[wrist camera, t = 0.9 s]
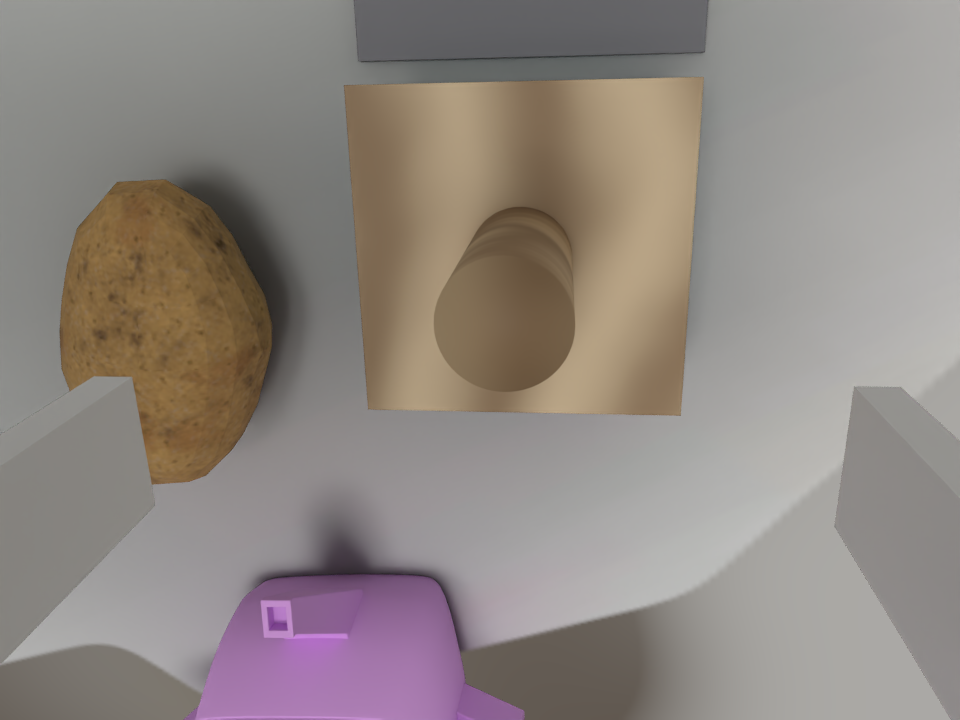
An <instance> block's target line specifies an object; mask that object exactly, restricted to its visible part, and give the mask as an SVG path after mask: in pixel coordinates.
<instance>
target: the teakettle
mask: <svg viewBox="0 0 960 720" xmlns="http://www.w3.org/2000/svg"><path fill="white" fill-rule="evenodd" d="M184 720H525V719H524V710H521V709H519V708H517V707H515V706H513V705H511V704H508V703H506V702H504V701H502V700H500V699H498V698H496V697H493V696H491V695H489V694H487V693H485V692H483V691H481V690H478V689H476V688H474V687H472V686H470V685H468V684H466V682H465V675H464V669H463V664H462V659H461V654H460V650H459V646H458V641H457V637H456V633H455V629H454V625H453V621H452V617H451V613H450V610H449V607H448V604H447V601H446V598H445V595H444V593H443V591H442V589H441V587H440V585H439V584H438V583H437V582H436V581H435V580H434V579H432V578H430V577H425V576H416V575H392V574H340V575H314V576H294V577H283V578H274V579H270V580H267V581H265V582H263V583H262V584H260V585H259V586H258V587H256V588H255V589H254V590H252V591H251V592H250V593H249V594H247V595H246V596H245V597H244V598H243V600H242V601H241V603H240V605H239V606H238V608H237V610H236V611H235V613H234V615H233V617H232V619H231V621H230V623H229V625H228V627H227V629H226V631H225V633H224V635H223V637H222V639H221V642H220V644H219V646H218V649H217V652H216V654H215V657H214V659H213V662H212V665H211V668H210V671H209V674H208V677H207V681H206V684H205V687H204V691H203V694H202V697H201V701H200V704H199V706H198V707H197V708H196V709H195V710H194V711H193V712H191V713H190V714H189V715H188V716H187V717H186V718H185V719H184Z"/></svg>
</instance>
